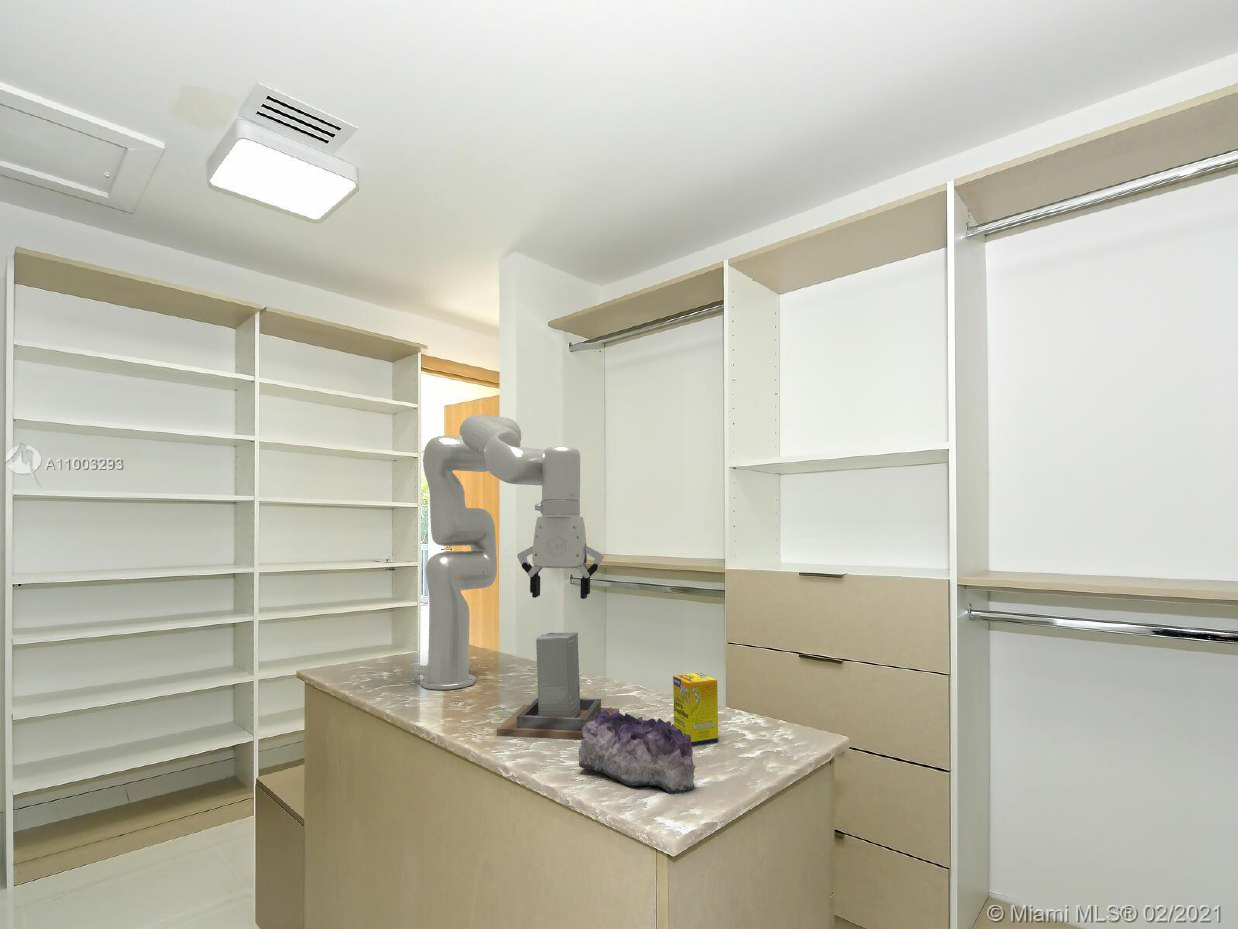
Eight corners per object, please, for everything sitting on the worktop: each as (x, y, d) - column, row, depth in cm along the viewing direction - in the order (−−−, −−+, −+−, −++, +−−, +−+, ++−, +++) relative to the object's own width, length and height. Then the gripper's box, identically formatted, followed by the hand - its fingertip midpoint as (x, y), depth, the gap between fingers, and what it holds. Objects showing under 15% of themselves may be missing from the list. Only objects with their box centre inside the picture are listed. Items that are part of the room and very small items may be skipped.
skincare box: (570, 725, 121) (570, 638, 122) (533, 723, 122) (534, 637, 124) (582, 712, 129) (582, 630, 131) (547, 710, 131) (547, 629, 132)
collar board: (496, 735, 119) (496, 717, 120) (523, 710, 135) (523, 694, 135) (604, 741, 116) (604, 722, 116) (619, 714, 132) (619, 698, 132)
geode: (716, 777, 100) (713, 712, 100) (676, 814, 91) (673, 744, 90) (610, 745, 112) (607, 687, 112) (566, 775, 103) (562, 713, 102)
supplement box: (672, 737, 118) (672, 675, 119) (701, 732, 120) (700, 671, 121) (689, 747, 112) (688, 682, 113) (719, 742, 115) (717, 678, 116)
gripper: (512, 509, 127) (511, 598, 126) (600, 509, 124) (599, 601, 123) (524, 509, 134) (523, 594, 133) (607, 510, 131) (606, 596, 130)
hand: (559, 597), depth 128 cm, fingers open, 9 cm apart
